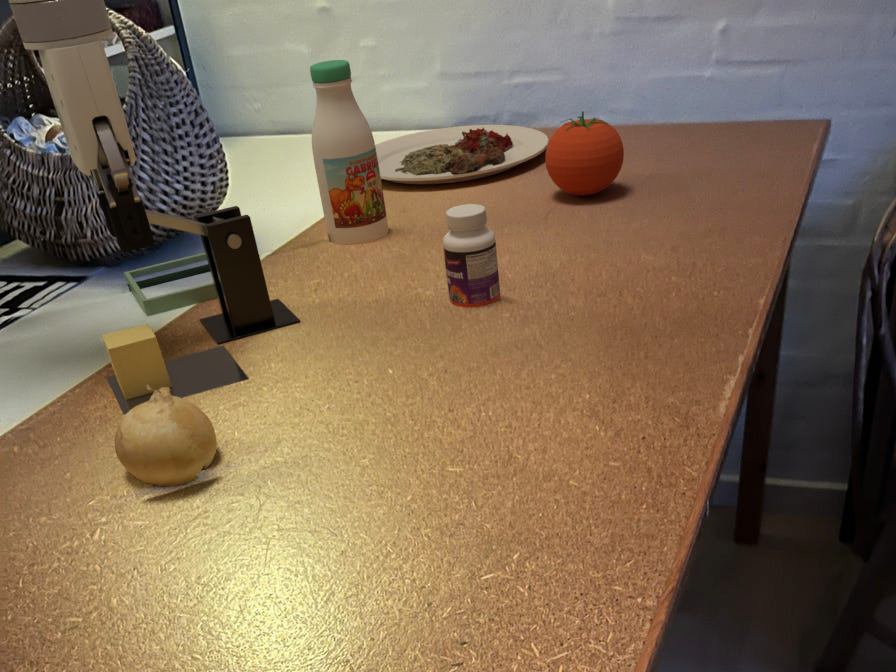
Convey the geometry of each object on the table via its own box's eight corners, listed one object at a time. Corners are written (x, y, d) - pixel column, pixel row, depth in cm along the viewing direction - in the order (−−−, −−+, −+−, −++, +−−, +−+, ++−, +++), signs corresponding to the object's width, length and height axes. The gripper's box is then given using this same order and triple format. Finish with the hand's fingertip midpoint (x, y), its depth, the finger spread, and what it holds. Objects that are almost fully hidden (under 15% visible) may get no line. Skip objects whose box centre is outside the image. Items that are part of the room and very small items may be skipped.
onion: (239, 475, 80) (215, 395, 75) (145, 510, 77) (115, 429, 73) (205, 441, 85) (181, 364, 81) (117, 472, 83) (87, 395, 78)
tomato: (612, 206, 125) (610, 120, 119) (536, 206, 129) (531, 122, 122) (633, 183, 132) (632, 100, 126) (561, 183, 136) (557, 103, 130)
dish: (149, 324, 109) (142, 301, 108) (130, 293, 118) (123, 272, 116) (254, 297, 113) (248, 274, 111) (227, 269, 122) (222, 248, 120)
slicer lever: (118, 228, 92) (121, 201, 90) (109, 216, 95) (112, 190, 94) (245, 255, 98) (249, 231, 97) (232, 243, 101) (236, 219, 100)
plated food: (319, 191, 146) (315, 166, 143) (407, 138, 166) (404, 116, 164) (506, 193, 135) (504, 166, 133) (575, 136, 156) (574, 112, 153)
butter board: (126, 424, 90) (123, 414, 89) (109, 386, 97) (105, 376, 96) (252, 388, 93) (249, 378, 92) (226, 354, 100) (223, 344, 100)
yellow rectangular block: (126, 400, 91) (107, 349, 88) (118, 385, 94) (101, 335, 91) (172, 387, 93) (156, 336, 90) (163, 373, 96) (147, 323, 92)
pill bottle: (443, 304, 105) (430, 209, 99) (488, 292, 106) (479, 198, 100) (462, 319, 101) (450, 222, 95) (509, 307, 102) (501, 210, 96)
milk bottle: (319, 251, 123) (283, 71, 111) (347, 231, 129) (316, 57, 116) (373, 252, 121) (342, 68, 108) (399, 232, 126) (373, 54, 113)
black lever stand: (220, 353, 101) (186, 235, 93) (202, 330, 106) (169, 217, 99) (302, 331, 103) (276, 214, 96) (280, 309, 109) (254, 197, 101)
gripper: (9, 21, 89) (81, 229, 100) (28, 39, 76) (108, 273, 88) (92, 7, 91) (153, 212, 102) (124, 22, 78) (190, 253, 90)
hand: (132, 238), depth 95 cm, fingers closed on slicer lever, 5 cm apart
